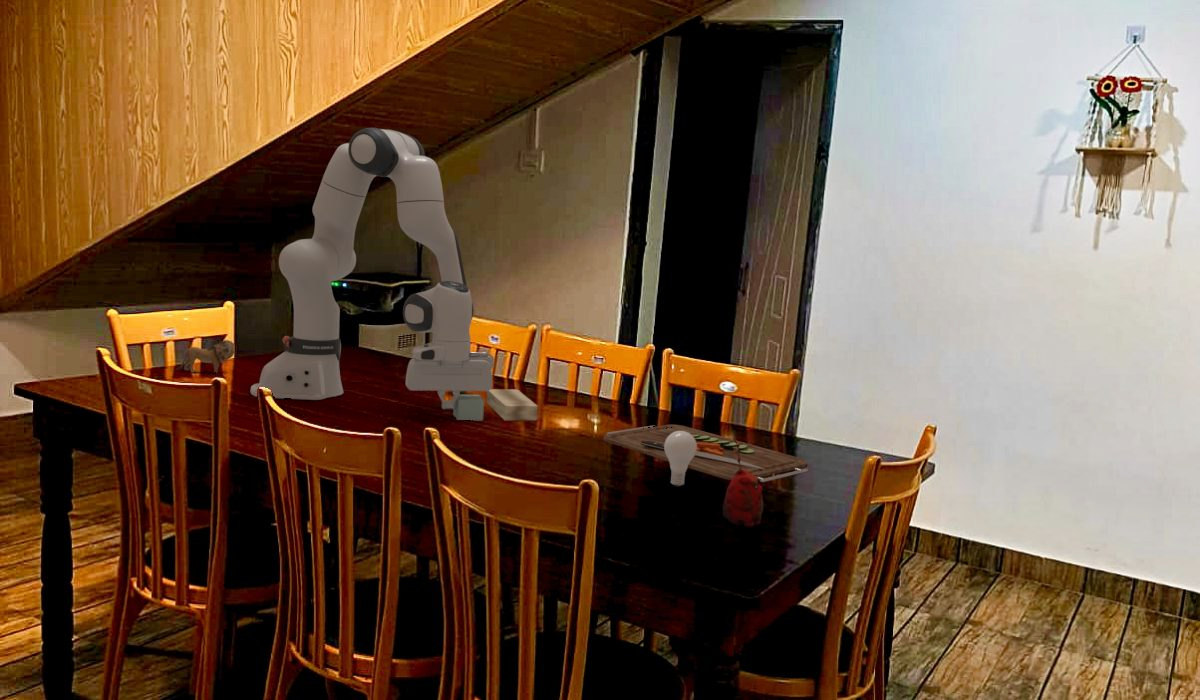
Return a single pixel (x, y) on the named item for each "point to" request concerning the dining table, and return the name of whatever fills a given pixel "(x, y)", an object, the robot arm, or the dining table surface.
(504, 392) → the board
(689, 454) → the lightbulb
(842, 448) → the dining table surface
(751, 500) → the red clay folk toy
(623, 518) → the dining table surface
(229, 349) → the lion figurine
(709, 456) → the chopping board
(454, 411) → the block
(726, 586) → the dining table surface
